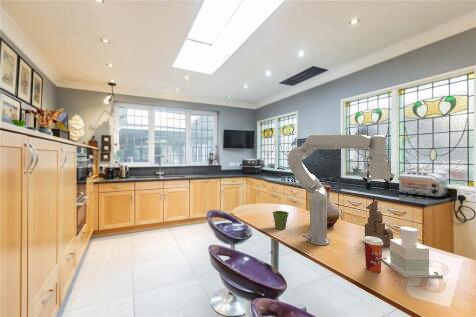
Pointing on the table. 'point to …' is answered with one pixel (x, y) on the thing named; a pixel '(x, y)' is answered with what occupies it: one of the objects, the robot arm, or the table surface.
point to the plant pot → (280, 219)
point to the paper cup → (373, 253)
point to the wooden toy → (377, 225)
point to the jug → (331, 209)
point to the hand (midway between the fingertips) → (377, 189)
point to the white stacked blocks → (410, 260)
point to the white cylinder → (408, 235)
